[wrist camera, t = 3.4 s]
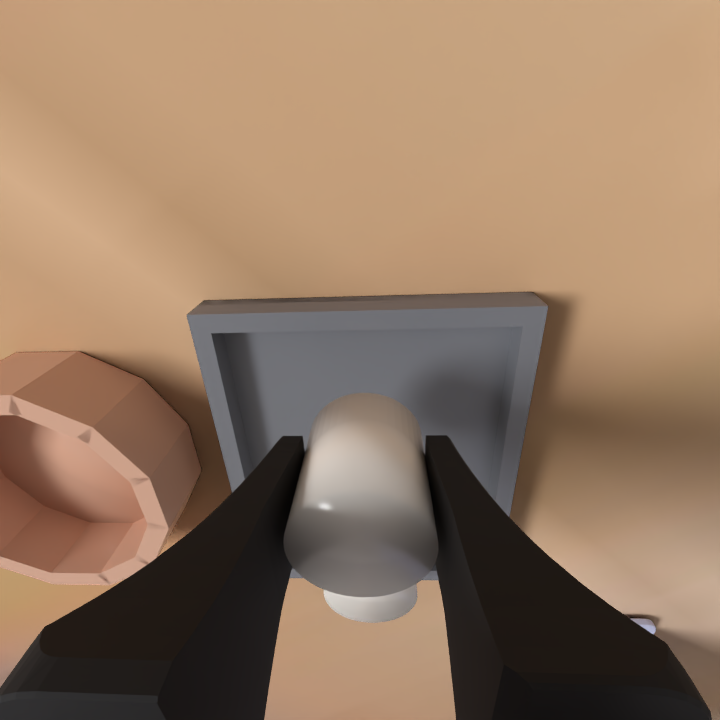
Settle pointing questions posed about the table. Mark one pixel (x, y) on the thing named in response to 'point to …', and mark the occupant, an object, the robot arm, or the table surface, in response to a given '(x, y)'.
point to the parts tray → (374, 371)
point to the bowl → (87, 469)
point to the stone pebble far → (373, 605)
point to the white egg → (363, 500)
